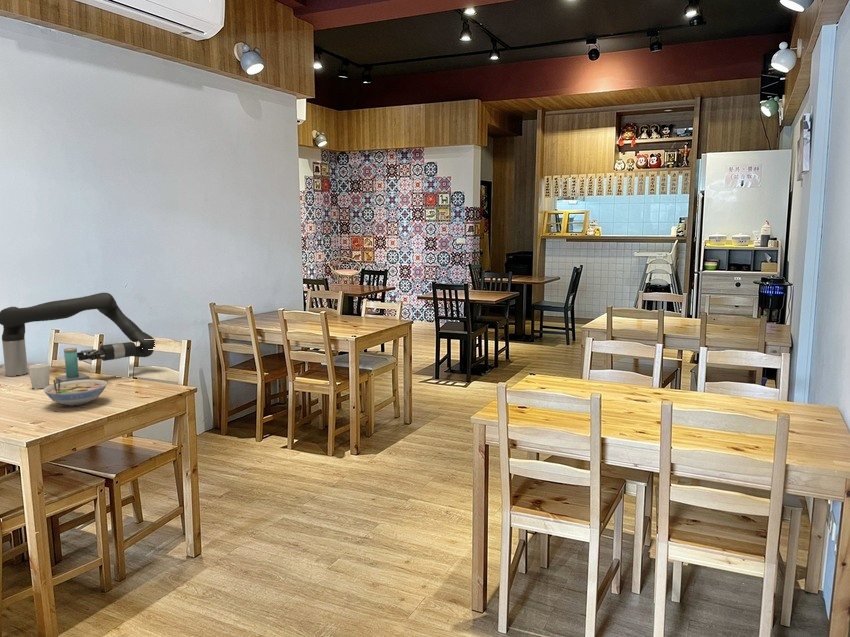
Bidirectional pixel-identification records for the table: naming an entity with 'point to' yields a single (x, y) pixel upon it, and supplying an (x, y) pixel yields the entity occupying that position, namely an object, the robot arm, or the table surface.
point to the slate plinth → (80, 377)
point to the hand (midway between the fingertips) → (75, 357)
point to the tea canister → (71, 362)
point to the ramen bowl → (75, 391)
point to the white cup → (39, 375)
